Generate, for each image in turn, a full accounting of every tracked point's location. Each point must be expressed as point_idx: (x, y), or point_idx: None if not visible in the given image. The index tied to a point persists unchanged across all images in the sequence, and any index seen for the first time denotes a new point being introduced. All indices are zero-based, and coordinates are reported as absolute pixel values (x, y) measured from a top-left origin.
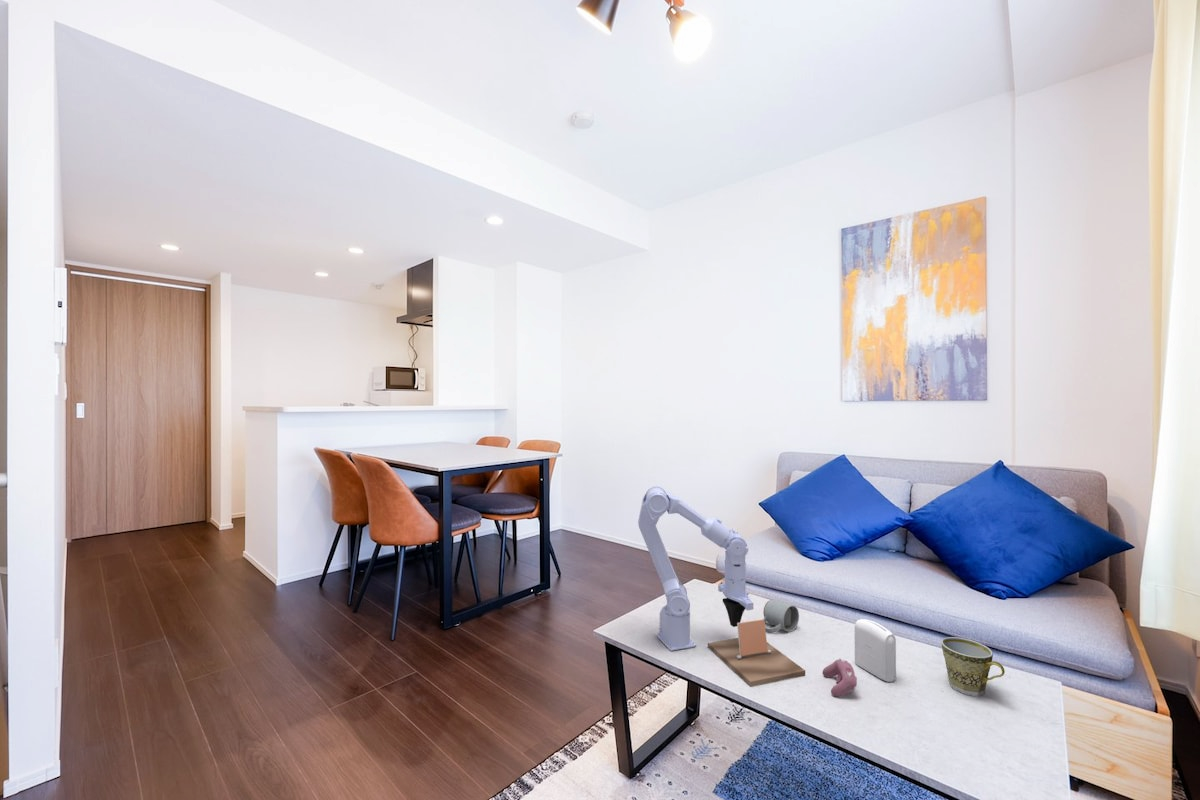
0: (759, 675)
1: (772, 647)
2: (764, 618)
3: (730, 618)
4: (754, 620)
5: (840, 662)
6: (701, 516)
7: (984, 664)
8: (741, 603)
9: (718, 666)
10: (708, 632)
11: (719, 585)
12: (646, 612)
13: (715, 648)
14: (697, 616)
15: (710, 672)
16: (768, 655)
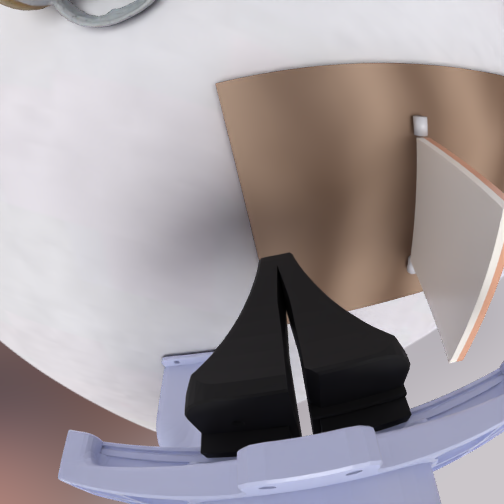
0: None
1: (372, 71)
2: (61, 7)
3: (286, 331)
4: (490, 278)
5: None
6: None
7: None
8: (432, 418)
9: (390, 308)
10: (150, 284)
11: (115, 498)
12: (66, 380)
13: None
14: (35, 282)
15: (403, 329)
16: (429, 136)
